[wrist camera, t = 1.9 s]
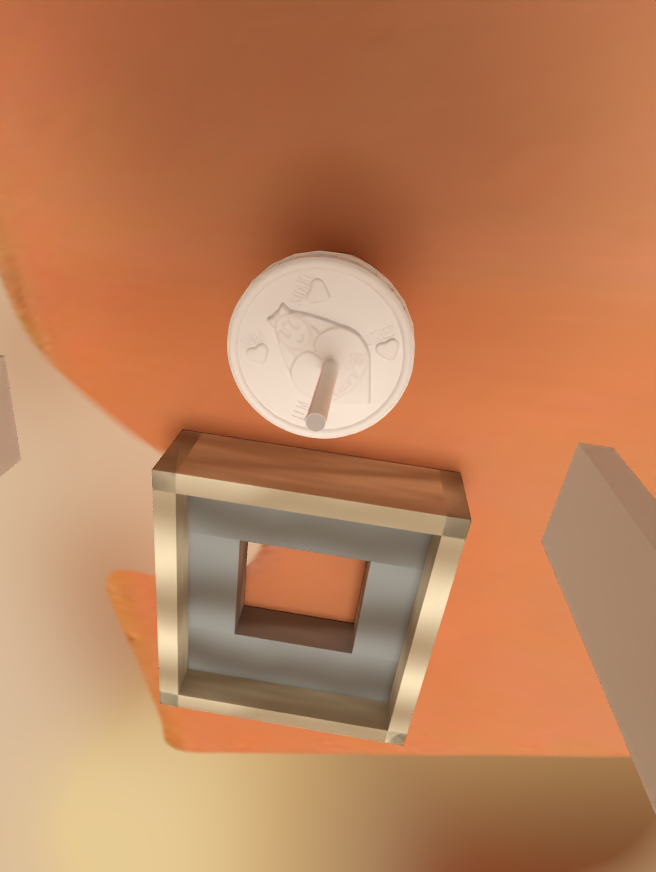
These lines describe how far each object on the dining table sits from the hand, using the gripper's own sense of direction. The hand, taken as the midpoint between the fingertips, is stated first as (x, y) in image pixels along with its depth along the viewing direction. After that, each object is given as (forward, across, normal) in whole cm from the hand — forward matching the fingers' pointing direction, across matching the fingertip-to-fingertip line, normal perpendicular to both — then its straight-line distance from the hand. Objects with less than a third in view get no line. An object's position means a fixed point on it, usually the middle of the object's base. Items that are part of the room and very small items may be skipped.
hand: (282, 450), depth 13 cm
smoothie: (+16, 0, 0) cm, 16 cm away
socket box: (+16, 0, -18) cm, 24 cm away
